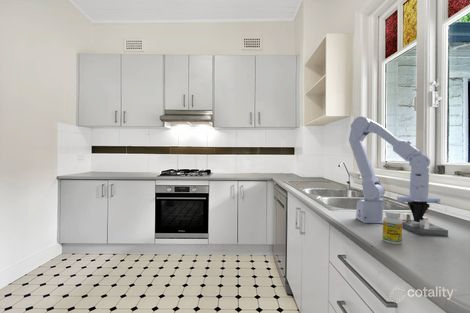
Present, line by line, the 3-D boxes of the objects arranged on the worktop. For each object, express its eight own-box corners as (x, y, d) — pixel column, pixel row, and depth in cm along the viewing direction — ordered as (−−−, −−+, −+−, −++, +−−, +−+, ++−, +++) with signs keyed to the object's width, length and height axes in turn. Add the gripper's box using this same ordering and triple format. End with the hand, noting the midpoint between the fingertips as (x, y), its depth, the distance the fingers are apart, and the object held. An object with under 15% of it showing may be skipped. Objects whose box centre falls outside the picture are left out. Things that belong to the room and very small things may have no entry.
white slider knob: (423, 224, 95) (423, 217, 95) (418, 222, 97) (419, 216, 97) (427, 224, 95) (427, 218, 95) (423, 222, 97) (423, 216, 97)
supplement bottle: (398, 240, 84) (400, 211, 84) (404, 245, 79) (405, 214, 78) (380, 237, 85) (381, 209, 85) (384, 243, 80) (385, 213, 80)
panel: (417, 234, 90) (417, 221, 90) (395, 224, 103) (396, 212, 103) (447, 236, 89) (448, 222, 89) (422, 225, 102) (422, 213, 102)
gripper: (405, 186, 92) (404, 223, 92) (447, 188, 91) (445, 225, 92) (394, 184, 99) (393, 218, 99) (433, 185, 99) (431, 220, 99)
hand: (417, 221), depth 96 cm, fingers closed
